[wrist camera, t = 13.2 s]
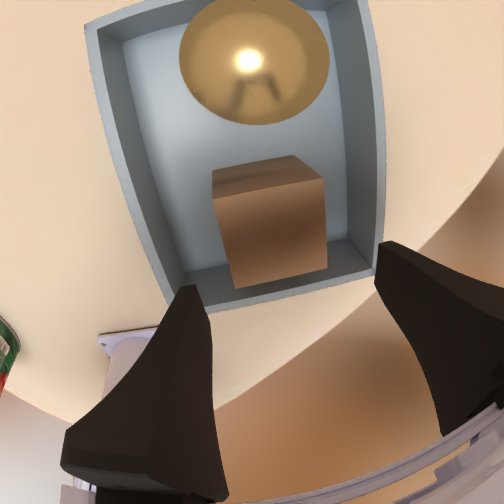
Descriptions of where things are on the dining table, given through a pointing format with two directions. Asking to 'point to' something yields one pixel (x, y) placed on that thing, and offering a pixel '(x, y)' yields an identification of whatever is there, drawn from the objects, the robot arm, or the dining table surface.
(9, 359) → the canned tomato
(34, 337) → the dining table surface
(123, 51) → the tote
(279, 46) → the brass cylinder
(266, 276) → the walnut cube
